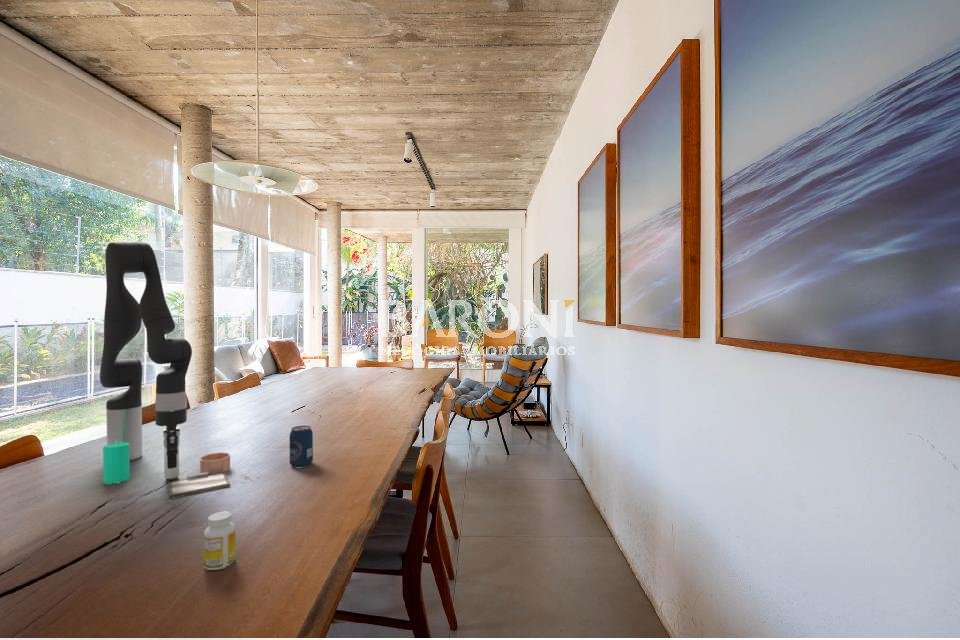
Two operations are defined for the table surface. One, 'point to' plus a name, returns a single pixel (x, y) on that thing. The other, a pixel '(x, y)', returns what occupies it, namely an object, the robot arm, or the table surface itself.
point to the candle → (116, 462)
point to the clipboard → (198, 484)
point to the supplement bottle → (219, 540)
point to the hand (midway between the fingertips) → (171, 465)
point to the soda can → (301, 446)
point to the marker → (172, 472)
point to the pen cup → (215, 463)
